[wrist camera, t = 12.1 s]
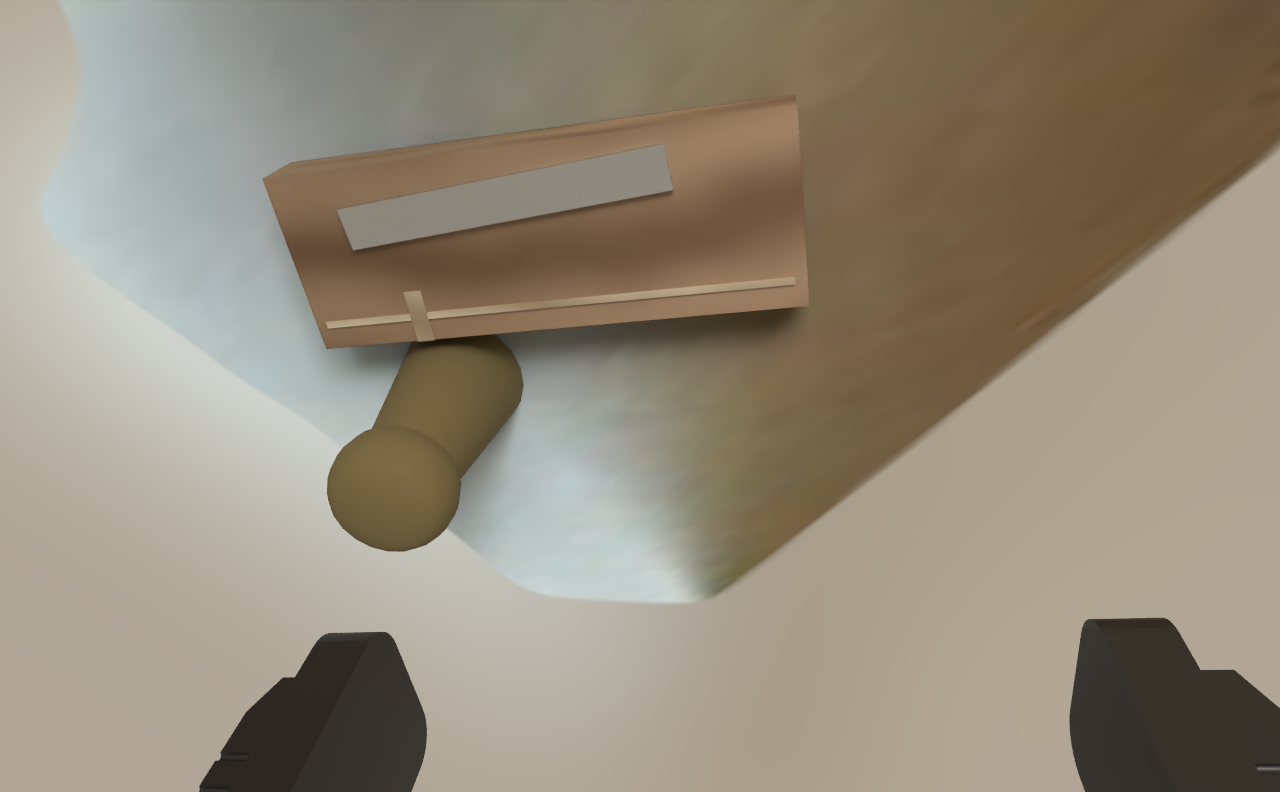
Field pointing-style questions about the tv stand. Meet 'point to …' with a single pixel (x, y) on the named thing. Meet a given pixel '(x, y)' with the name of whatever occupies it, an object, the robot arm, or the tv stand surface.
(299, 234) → the walnut board
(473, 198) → the steel ruler
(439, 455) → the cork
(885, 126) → the tv stand surface
